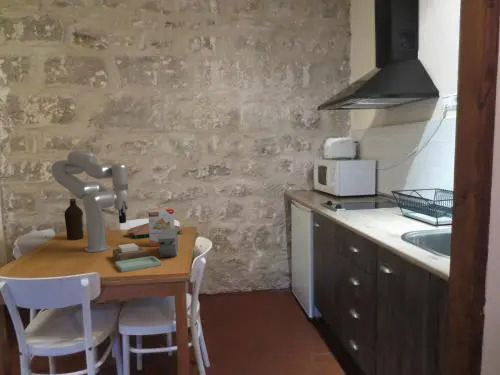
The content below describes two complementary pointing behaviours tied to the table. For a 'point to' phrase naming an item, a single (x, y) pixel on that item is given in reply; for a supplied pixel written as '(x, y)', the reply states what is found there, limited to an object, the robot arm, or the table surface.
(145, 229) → the house
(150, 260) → the tray
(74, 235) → the olive oil
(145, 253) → the riser
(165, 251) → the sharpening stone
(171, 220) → the cracker box
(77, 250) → the table surface
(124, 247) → the coaster
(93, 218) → the robot arm
